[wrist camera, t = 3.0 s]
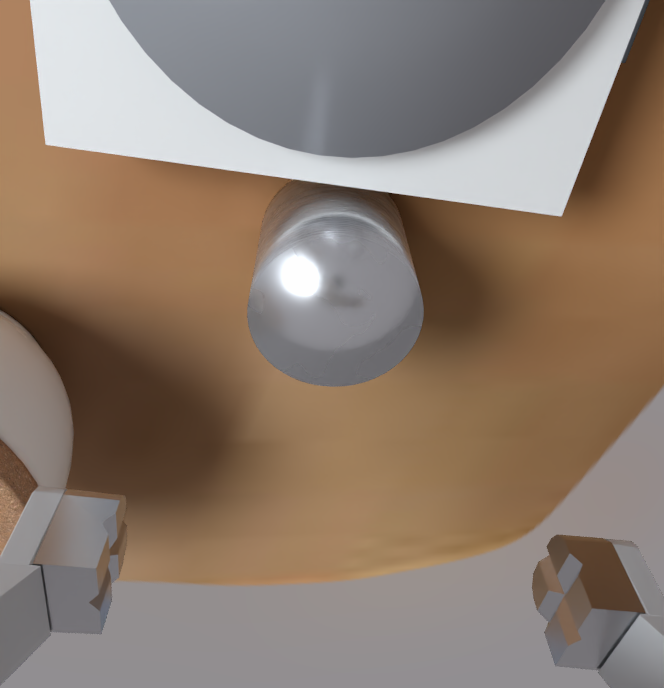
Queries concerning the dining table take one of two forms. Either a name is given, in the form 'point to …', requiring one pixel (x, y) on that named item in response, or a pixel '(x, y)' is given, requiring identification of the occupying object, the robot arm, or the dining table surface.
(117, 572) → the robot arm
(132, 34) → the kitchen scale
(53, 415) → the lidded jar
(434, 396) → the dining table surface
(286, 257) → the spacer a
